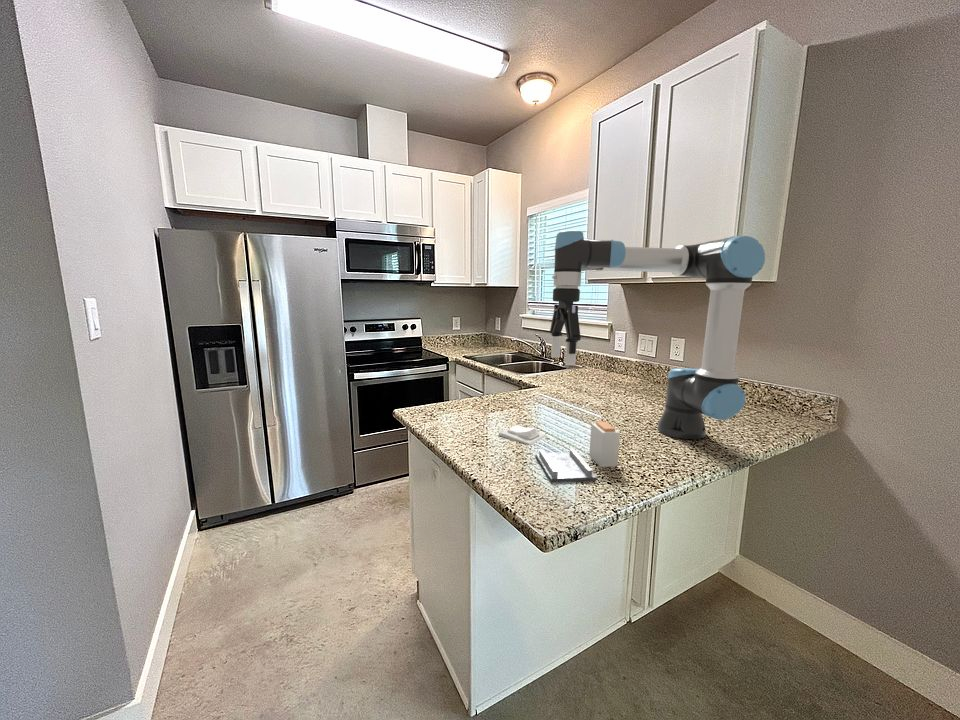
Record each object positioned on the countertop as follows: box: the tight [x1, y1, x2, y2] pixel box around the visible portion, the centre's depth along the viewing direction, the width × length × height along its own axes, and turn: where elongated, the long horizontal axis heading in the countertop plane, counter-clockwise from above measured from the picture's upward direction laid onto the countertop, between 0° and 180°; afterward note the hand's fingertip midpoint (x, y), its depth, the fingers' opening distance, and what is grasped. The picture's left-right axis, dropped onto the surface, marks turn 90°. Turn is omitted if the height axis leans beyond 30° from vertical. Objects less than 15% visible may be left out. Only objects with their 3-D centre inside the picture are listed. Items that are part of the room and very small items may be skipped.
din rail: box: [535, 448, 597, 483], centre depth 107 cm, size 12×16×2 cm
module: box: [588, 421, 621, 468], centre depth 111 cm, size 5×8×11 cm, turn 6°
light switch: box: [498, 424, 548, 446], centre depth 130 cm, size 11×4×13 cm
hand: (562, 361), depth 114 cm, fingers open, 13 cm apart
